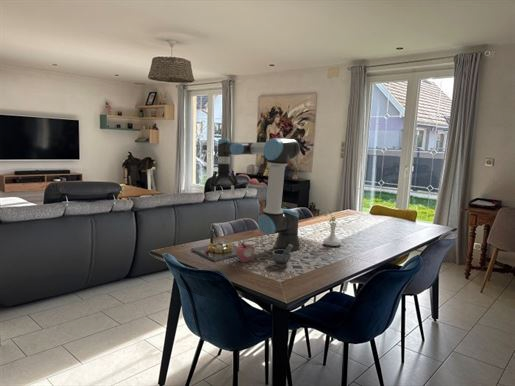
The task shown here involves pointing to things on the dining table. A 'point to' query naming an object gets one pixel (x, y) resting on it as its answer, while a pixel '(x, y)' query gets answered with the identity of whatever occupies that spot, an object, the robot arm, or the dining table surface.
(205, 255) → the gray square tray
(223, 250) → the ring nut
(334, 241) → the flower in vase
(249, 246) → the red apple
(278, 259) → the mortar and pestle
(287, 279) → the dining table surface
